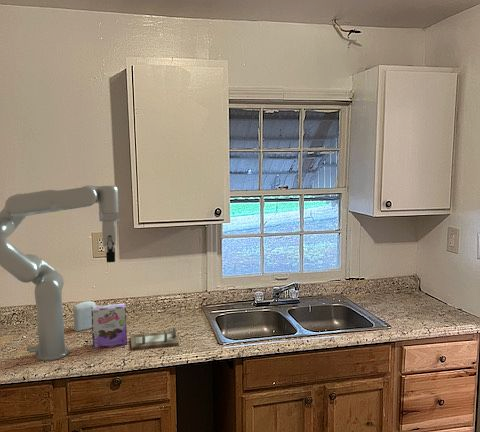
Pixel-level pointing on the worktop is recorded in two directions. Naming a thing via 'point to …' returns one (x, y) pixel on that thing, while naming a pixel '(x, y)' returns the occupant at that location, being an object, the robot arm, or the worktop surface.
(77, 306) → the photo printer
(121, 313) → the candy box
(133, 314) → the worktop surface
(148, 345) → the grey tray
